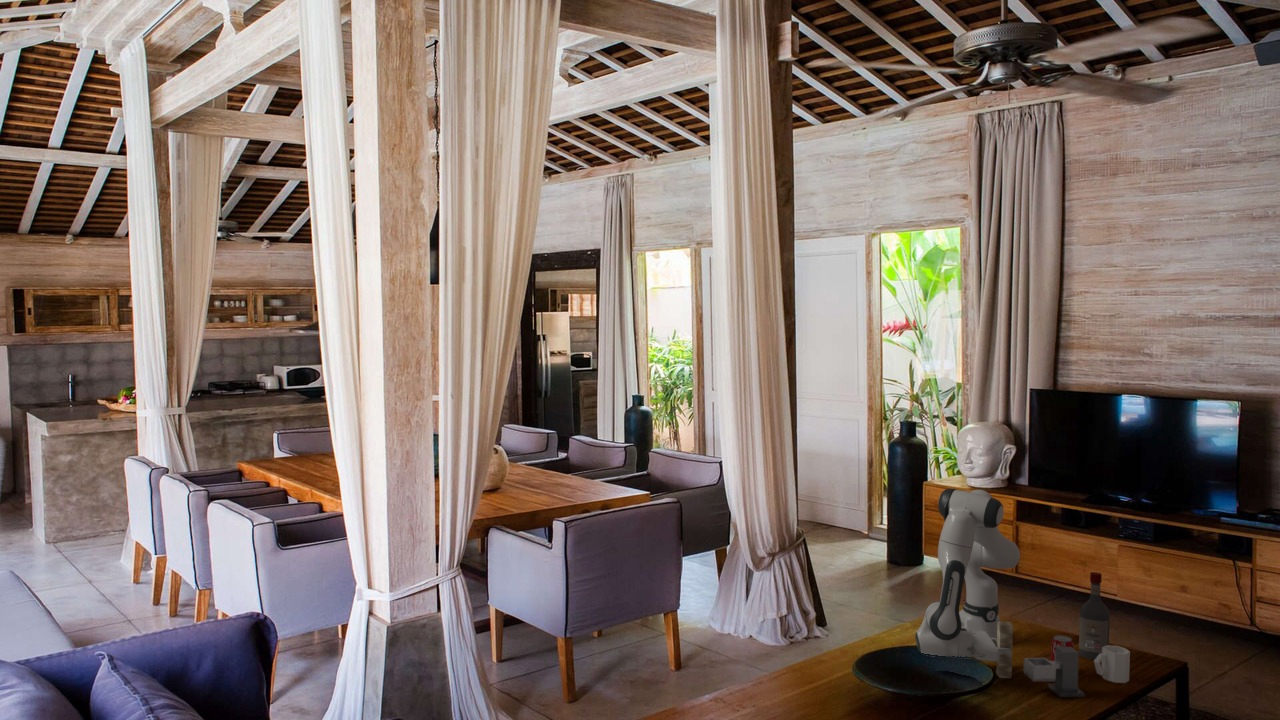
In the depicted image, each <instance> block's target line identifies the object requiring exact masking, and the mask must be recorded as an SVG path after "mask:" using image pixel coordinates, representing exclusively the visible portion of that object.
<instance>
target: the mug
mask: <svg viewBox="0 0 1280 720" xmlns="http://www.w3.org/2000/svg"><path fill="white" fill-rule="evenodd" d="M1130 658H1131V651H1130V650H1129V649H1127V648H1126V647H1122V646H1119V645H1110V644H1109V645H1107V646H1104V647H1102V653H1100V654H1099V655H1098V656H1097V657H1096V659H1095V660H1093V664H1094V667H1095V672H1096V674H1098V675H1100V677H1102V678H1103V680H1106V681H1108V682H1112V683H1117V684H1119V683H1120V684H1126V683H1127V682H1129V681H1130V664H1131V663H1130V662H1131V661H1130Z"/></svg>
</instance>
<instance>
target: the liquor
mask: <svg viewBox="0 0 1280 720" xmlns="http://www.w3.org/2000/svg"><path fill="white" fill-rule="evenodd" d="M1089 576H1090V577H1089V582H1090V595H1089V599H1088V600H1087V601H1086V602H1085V603H1084V604H1082V606H1081V608H1080V611H1079V629H1078V630H1079V633H1078V634H1079V636H1078V638H1079V639H1078V652H1079V656H1080V657H1082V658H1084V659H1087V660H1088V659H1089V660H1091V661H1092V660H1093V661H1094V660H1095V659H1096V657H1097V656H1098V655H1099V654H1100V653H1102V647H1104V646H1107V645H1110V619H1111V618H1110V615H1111V614H1110V613H1111V612H1110V610H1109V608H1108V607H1107V605H1106V604H1105V602H1103V600H1102V598H1101V583H1102V576H1103V575H1102V573H1100V572H1097V571H1096V572H1095V571H1093V572H1090V574H1089Z"/></svg>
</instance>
